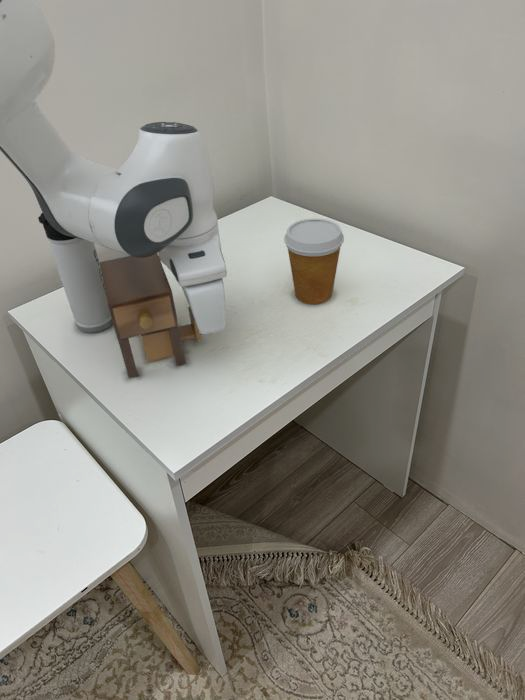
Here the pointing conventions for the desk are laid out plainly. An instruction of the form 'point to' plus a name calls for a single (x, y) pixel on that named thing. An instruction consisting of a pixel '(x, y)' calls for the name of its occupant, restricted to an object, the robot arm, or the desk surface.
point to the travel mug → (80, 279)
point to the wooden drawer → (167, 340)
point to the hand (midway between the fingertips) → (201, 322)
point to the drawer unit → (140, 303)
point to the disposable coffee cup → (313, 258)
